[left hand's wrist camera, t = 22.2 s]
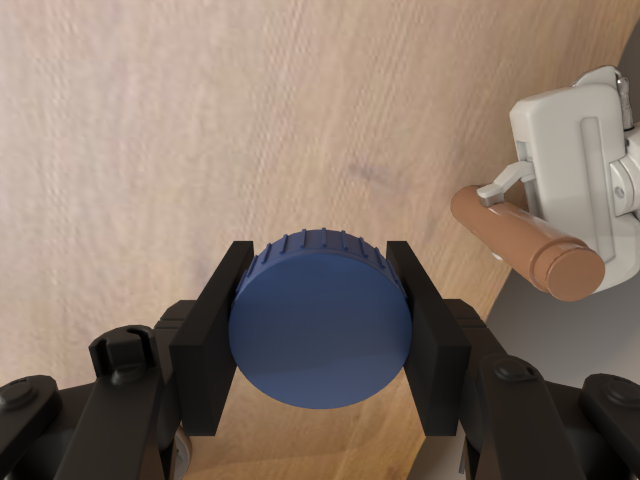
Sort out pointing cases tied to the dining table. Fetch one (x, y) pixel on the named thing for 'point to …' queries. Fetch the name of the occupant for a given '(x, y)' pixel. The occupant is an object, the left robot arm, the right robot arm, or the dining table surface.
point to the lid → (320, 320)
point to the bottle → (532, 246)
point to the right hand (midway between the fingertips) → (487, 226)
